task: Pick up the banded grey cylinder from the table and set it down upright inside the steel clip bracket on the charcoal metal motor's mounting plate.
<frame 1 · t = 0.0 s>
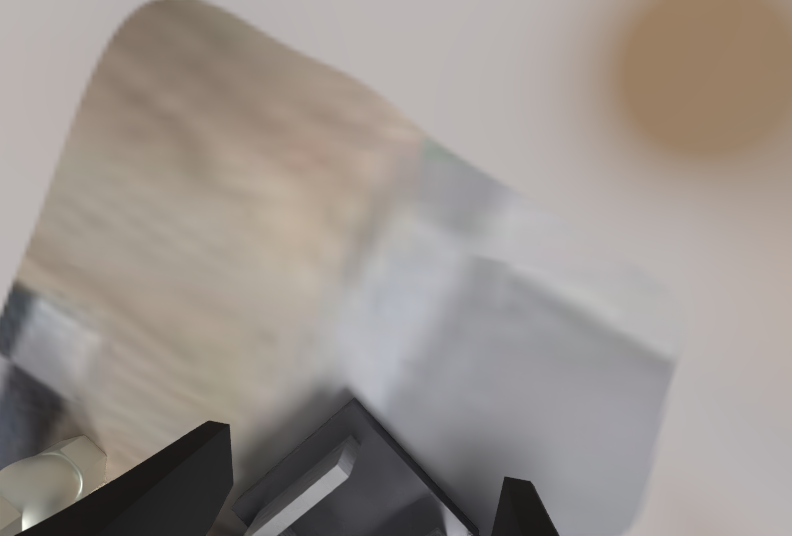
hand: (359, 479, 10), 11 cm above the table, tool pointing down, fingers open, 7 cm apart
motor: (353, 513, 22), on the table
valve: (82, 510, 25), on the table
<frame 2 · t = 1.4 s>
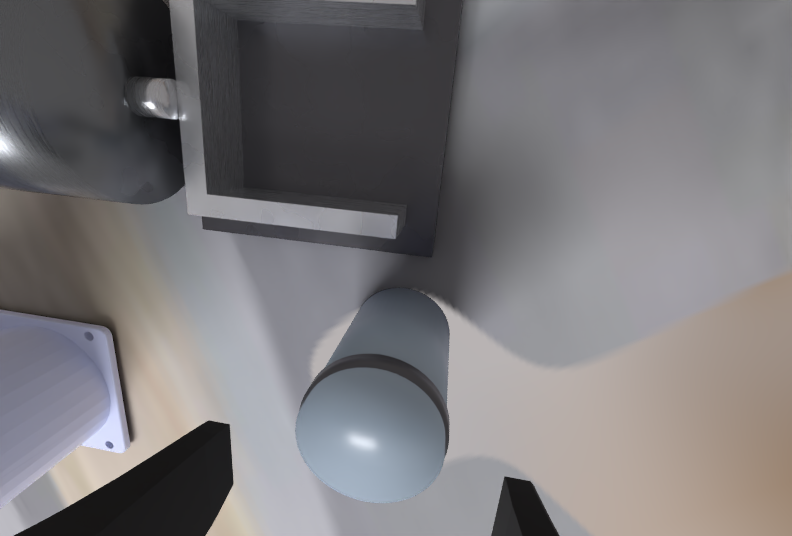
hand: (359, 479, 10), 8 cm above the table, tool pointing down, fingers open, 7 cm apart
banded grey cylinder: (401, 332, 18), on the table
motor: (322, 116, 15), on the table
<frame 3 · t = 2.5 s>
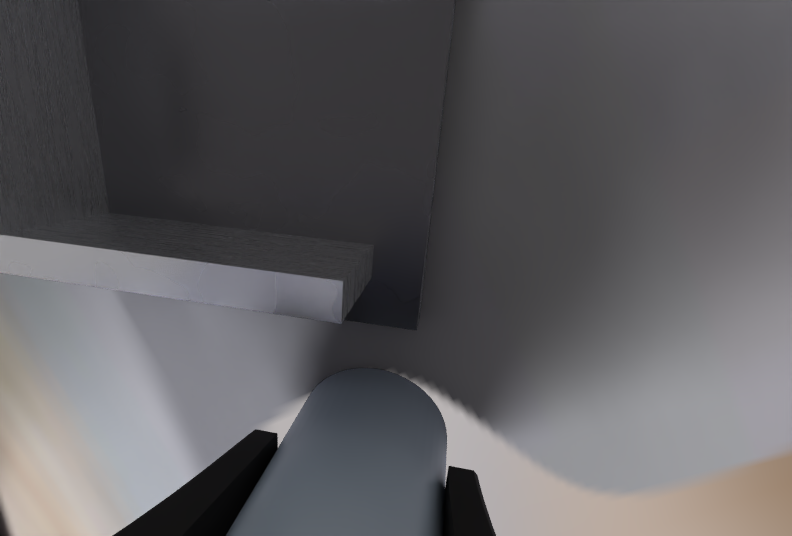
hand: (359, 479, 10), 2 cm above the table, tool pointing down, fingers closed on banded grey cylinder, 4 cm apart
banded grey cylinder: (372, 432, 11), on the table, touching gripper
motor: (232, 96, 9), on the table
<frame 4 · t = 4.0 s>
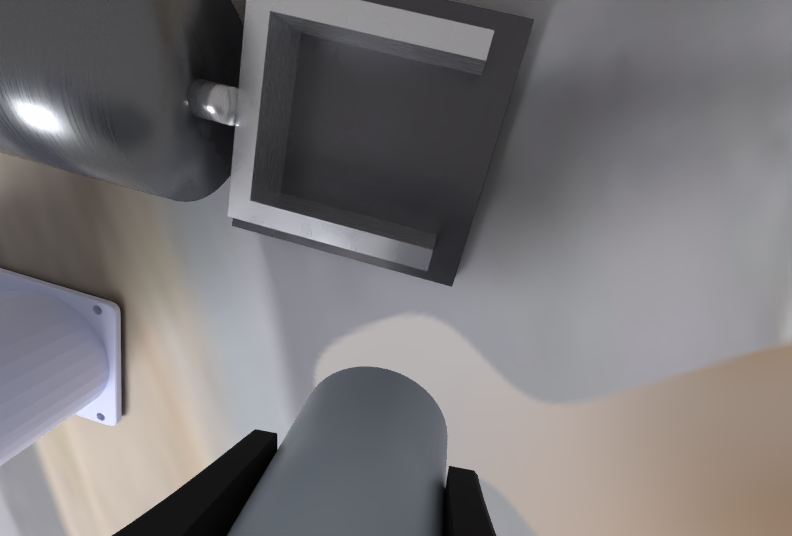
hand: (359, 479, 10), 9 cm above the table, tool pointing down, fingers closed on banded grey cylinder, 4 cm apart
banded grey cylinder: (374, 430, 12), point 7 cm above the table, touching gripper
motor: (367, 137, 16), on the table
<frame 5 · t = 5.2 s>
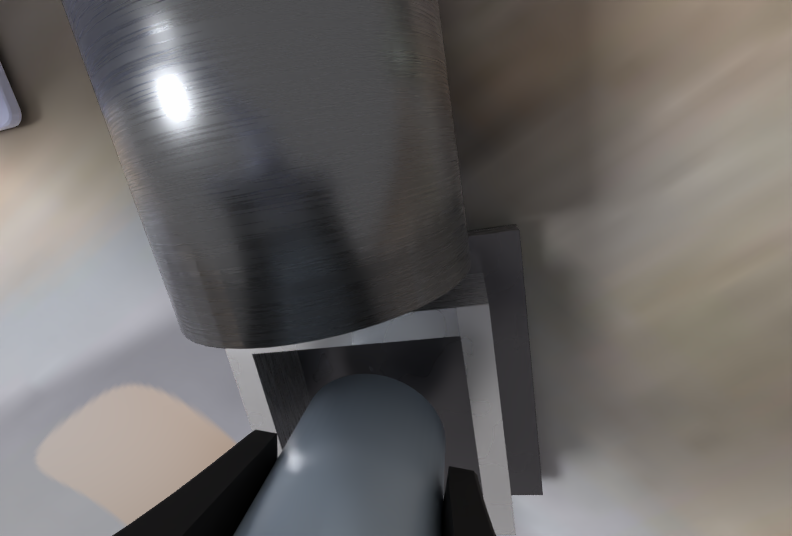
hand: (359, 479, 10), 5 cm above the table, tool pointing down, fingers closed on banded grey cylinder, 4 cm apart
banded grey cylinder: (373, 436, 12), point 3 cm above the table, touching gripper
motor: (390, 373, 14), on the table
when the fingers open (4 cm above the table, at t = 5.8 s): banded grey cylinder drops 2 cm, resting on motor.
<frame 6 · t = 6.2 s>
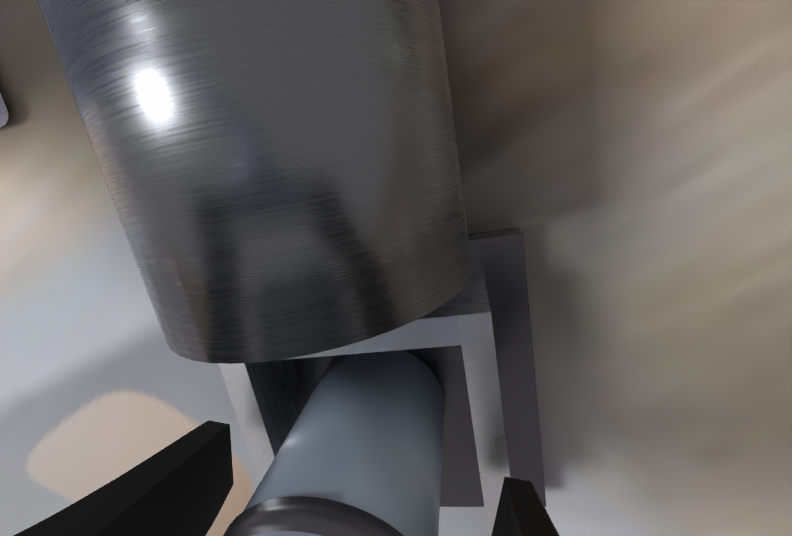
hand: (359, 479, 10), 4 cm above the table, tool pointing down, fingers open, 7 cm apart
banded grey cylinder: (381, 400, 13), point 1 cm above the table, touching motor
motor: (388, 380, 14), on the table
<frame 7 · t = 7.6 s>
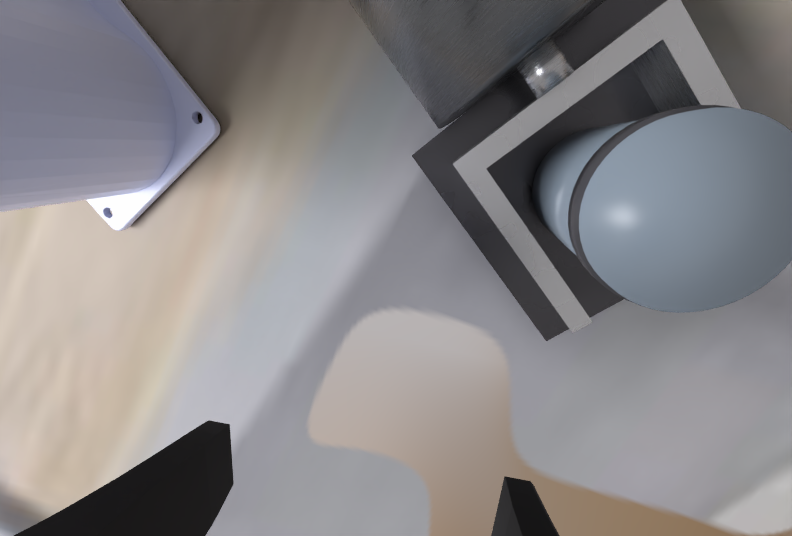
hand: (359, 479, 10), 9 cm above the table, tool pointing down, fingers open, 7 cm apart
banded grey cylinder: (591, 188, 15), point 1 cm above the table, touching motor
motor: (585, 178, 16), on the table
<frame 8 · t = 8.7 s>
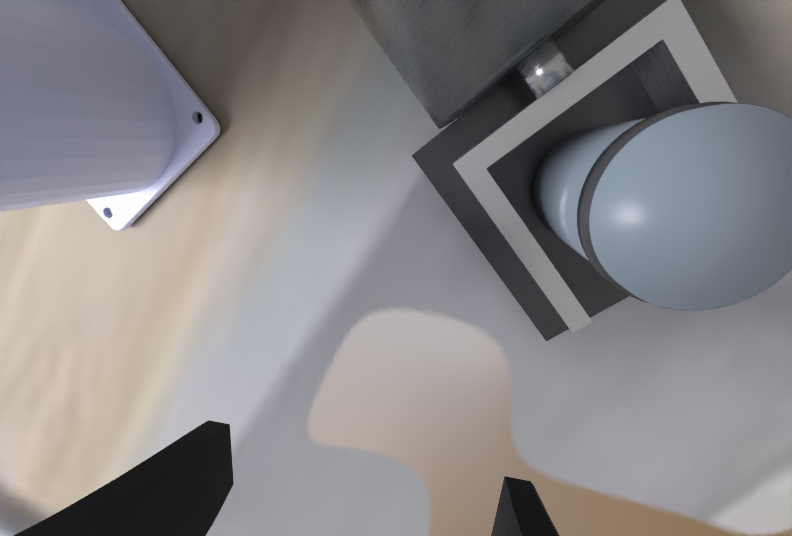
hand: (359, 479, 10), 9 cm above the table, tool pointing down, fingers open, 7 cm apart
banded grey cylinder: (591, 188, 15), point 1 cm above the table, touching motor
motor: (585, 178, 16), on the table
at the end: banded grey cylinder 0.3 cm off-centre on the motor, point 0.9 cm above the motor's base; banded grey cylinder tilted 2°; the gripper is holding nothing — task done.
